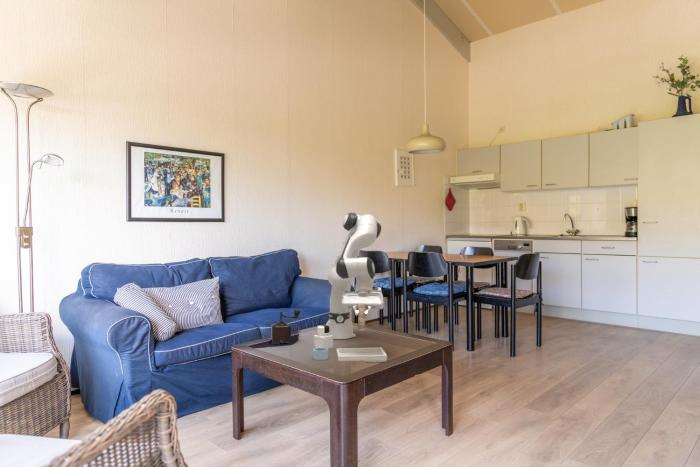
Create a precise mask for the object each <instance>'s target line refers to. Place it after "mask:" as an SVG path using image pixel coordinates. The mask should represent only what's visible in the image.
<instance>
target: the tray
mask: <svg viewBox="0 0 700 467" xmlns="http://www.w3.org/2000/svg"><path fill="white" fill-rule="evenodd" d="M336 356H337V359H338V360H337V361H338V362H353V361H354V362H355V361H356V362H359V361H360V362H362V361H365V363H369V364H370V363H388V355H387V353H386V351H385V350H384V349H383V348H382V347H381V346H379V347H376V346H375V347H337V348H336Z"/></svg>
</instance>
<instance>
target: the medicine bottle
mask: <svg viewBox="0 0 700 467" xmlns="http://www.w3.org/2000/svg"><path fill="white" fill-rule="evenodd" d="M316 330H317V333H316V334H314V335H313V349H314V348H328V350H329V349H332V348H334V339H333V335H329V326H327V325H326V324H321V325H318V326H317V329H316Z"/></svg>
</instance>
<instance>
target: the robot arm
mask: <svg viewBox="0 0 700 467" xmlns="http://www.w3.org/2000/svg"><path fill="white" fill-rule="evenodd" d="M342 227H343V228H344V230H346V231H347V233H346V234H345V236H344V238H343V240H342V243H341V246H340V249H339V251H338V252H337V253H338V254H337V256H336V258H335V260H334V261H333V264H332V265H331V268H330V270H329V272H328V274H327V280H328V282H329V284H330V285H331V291H330V292H331V293H330V296H329V312H328V321H327V322H326V324H325V325H327V326H329V335H333V340H347V339H350V338H355V337H357V335H356V333H354V330H353V328H354V327H353V321H352V320H351V319H350V318H351V312H350V309H353V311H354V315H355V316H358V304H365V317H366V316H367V317H368V316H369V313H370V312H371V311H372V310H383V309H384V307H385V305H384V304H385V301H384V295H383V291H382V288H381V286H380V287H379V286H376V285H374V282H375V275H376V264H375V262H374V260H372V259H371V258H370V257H368V256H367V257H366V256H365V257H363V256H362V257H359V255H360V251H361V250H362V249H365V248H368V247H370V246H372V245H374V243H375V242H376V241H377V240H376V239H378V238H379V236H380V235H381V231H382V225H381V224H380V223H379V222H378V221H377V220H376V218H375V216H373V215H372V214H363V215H360V214H357V213H355V212H347V214H346V215H345V217H344V218H343V221H342ZM353 279H356V283H355V286H354V287H355V288H354V290H352V291H351V288H352V282H353ZM366 309H367V310H366Z"/></svg>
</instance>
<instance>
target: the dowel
mask: <svg viewBox="0 0 700 467" xmlns="http://www.w3.org/2000/svg"><path fill="white" fill-rule="evenodd" d="M357 311H358V315H357V316H358V318H357V324H358V325H357V328H358V331H360V332H362V331H366V316H365V311H366V309H365V304H358V309H357Z"/></svg>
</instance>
